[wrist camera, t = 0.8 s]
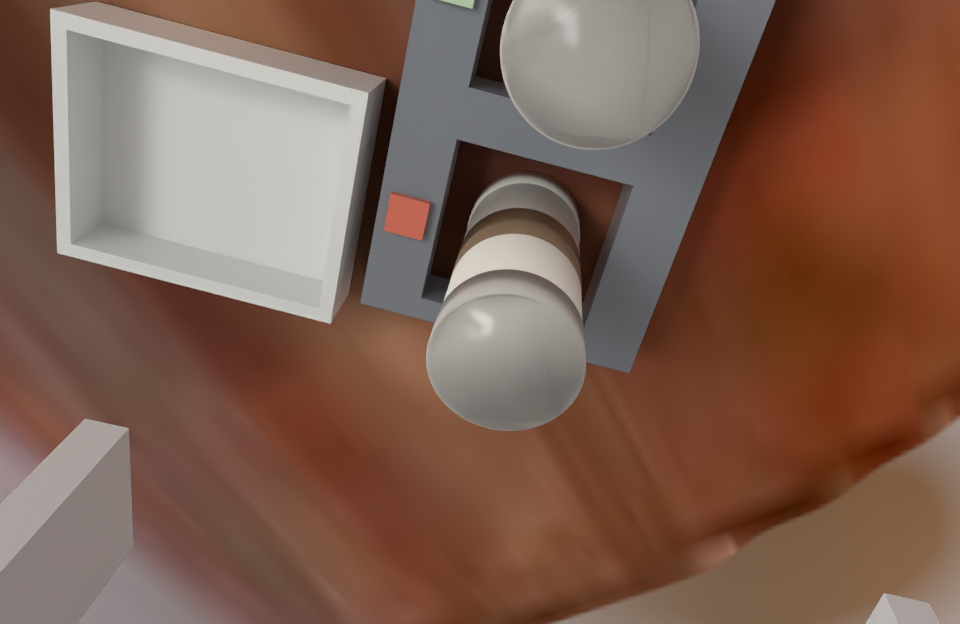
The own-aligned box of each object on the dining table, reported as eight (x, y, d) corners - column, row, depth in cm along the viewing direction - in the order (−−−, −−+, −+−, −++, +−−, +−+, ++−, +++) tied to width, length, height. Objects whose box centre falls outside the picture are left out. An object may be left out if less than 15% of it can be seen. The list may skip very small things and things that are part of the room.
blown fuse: (460, 257, 34) (412, 408, 23) (485, 157, 32) (444, 273, 21) (562, 284, 34) (560, 446, 23) (593, 186, 32) (607, 316, 21)
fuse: (510, 54, 30) (480, 123, 19) (542, -77, 28) (528, -82, 17) (626, 84, 30) (659, 170, 19) (667, -44, 28) (731, -28, 17)
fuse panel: (373, 279, 35) (358, 306, 32) (458, -172, 26) (447, -182, 24) (625, 345, 35) (629, 376, 32) (788, -83, 27) (811, -84, 24)
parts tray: (97, 227, 35) (57, 253, 32) (96, 1, 30) (50, 8, 28) (348, 293, 35) (330, 323, 32) (386, 78, 31) (368, 93, 28)
